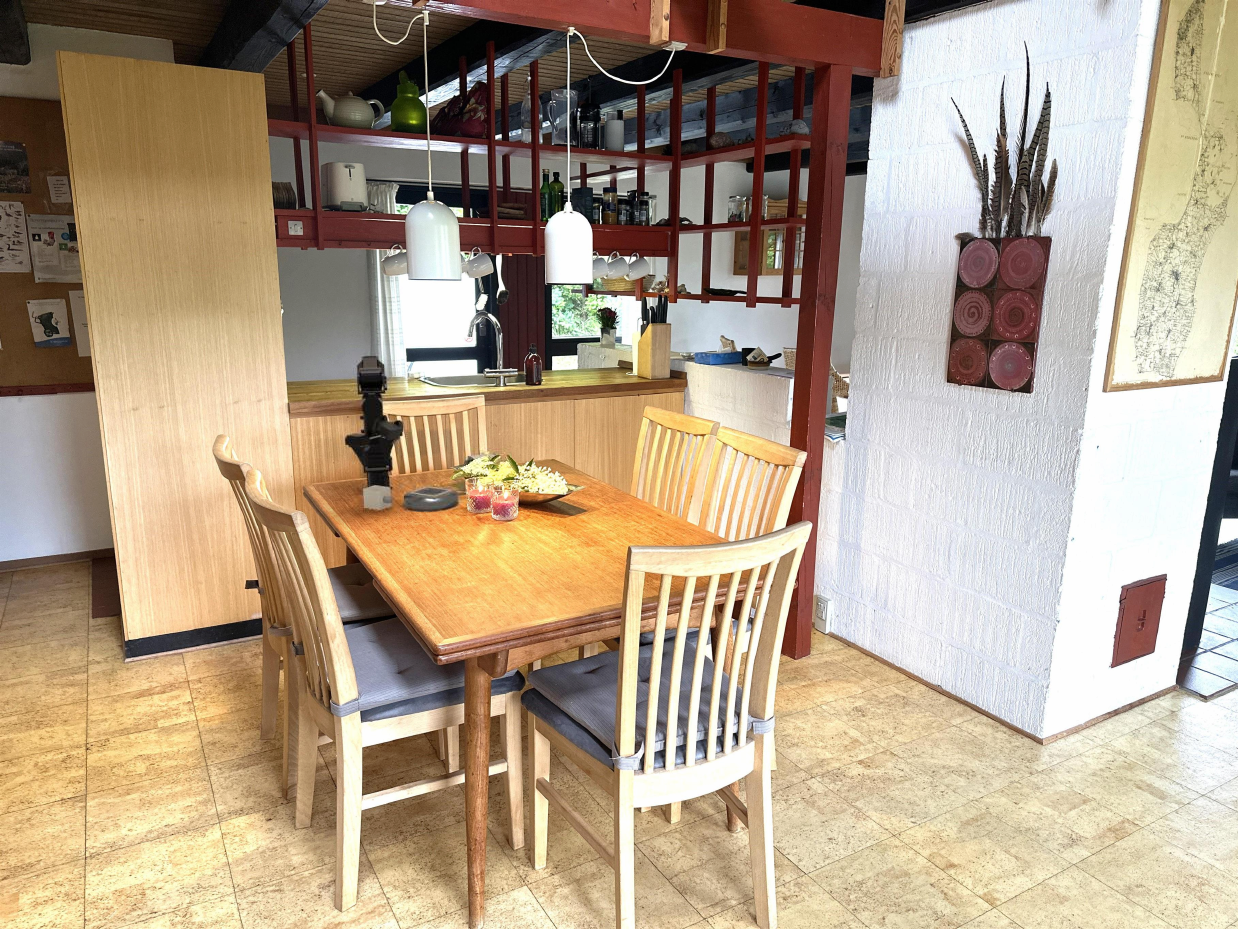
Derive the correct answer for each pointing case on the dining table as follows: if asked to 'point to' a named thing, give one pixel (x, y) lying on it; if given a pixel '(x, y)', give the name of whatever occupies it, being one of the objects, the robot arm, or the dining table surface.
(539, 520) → the dining table surface
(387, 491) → the pump block
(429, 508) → the grey shallow dish
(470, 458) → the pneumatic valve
